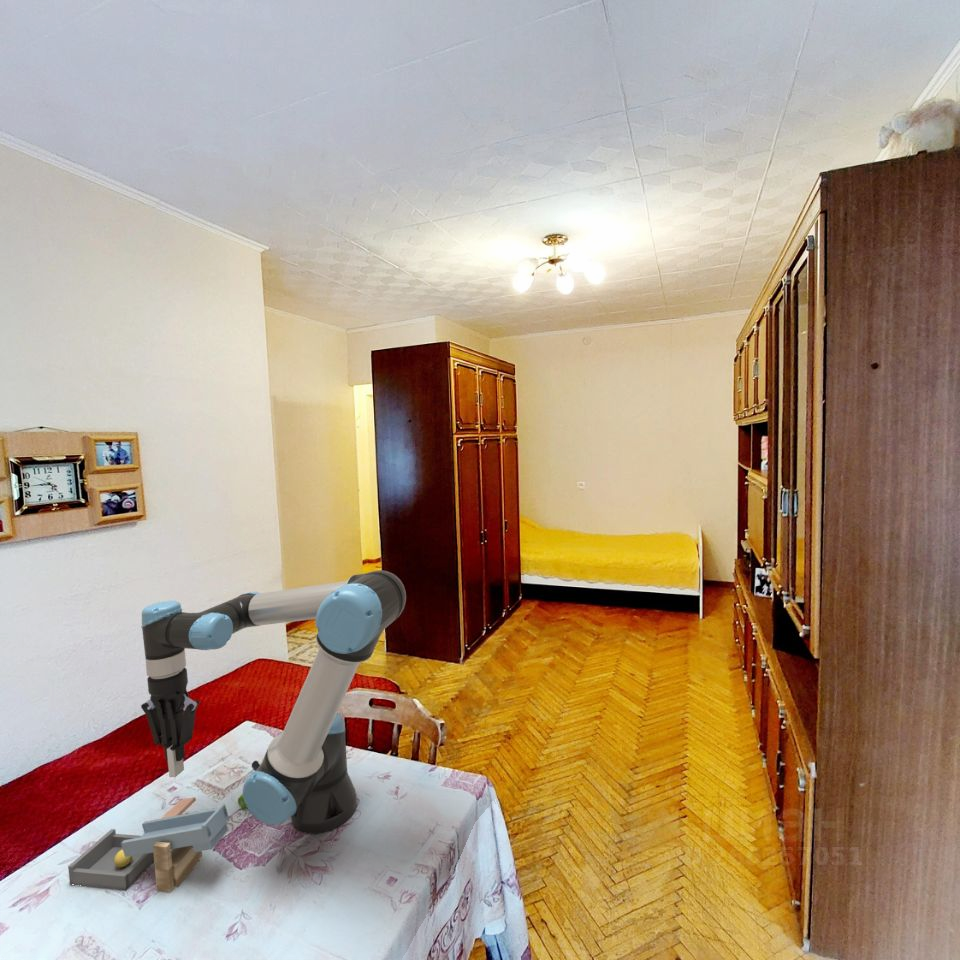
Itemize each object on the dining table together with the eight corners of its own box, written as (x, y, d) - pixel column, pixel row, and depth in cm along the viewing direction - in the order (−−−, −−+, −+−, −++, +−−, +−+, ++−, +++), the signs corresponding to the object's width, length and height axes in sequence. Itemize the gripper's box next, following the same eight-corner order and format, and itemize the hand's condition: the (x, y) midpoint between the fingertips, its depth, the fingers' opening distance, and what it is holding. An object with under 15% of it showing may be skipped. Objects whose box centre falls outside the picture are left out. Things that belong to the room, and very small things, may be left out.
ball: (136, 845, 106) (123, 843, 107) (123, 857, 103) (109, 855, 104) (136, 859, 107) (123, 857, 107) (123, 872, 103) (110, 870, 104)
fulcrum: (204, 856, 107) (200, 813, 107) (172, 892, 98) (168, 847, 98) (187, 854, 108) (184, 812, 107) (154, 891, 99) (150, 845, 99)
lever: (258, 796, 113) (252, 774, 113) (211, 852, 98) (203, 826, 98) (183, 810, 117) (177, 789, 117) (126, 866, 101) (118, 842, 101)
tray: (164, 850, 109) (163, 833, 109) (126, 890, 99) (124, 871, 99) (113, 846, 111) (111, 829, 111) (70, 885, 101) (68, 866, 101)
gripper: (205, 664, 114) (214, 764, 116) (154, 664, 116) (164, 761, 118) (180, 679, 107) (190, 785, 108) (127, 679, 109) (137, 783, 110)
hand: (176, 773), depth 113 cm, fingers closed
